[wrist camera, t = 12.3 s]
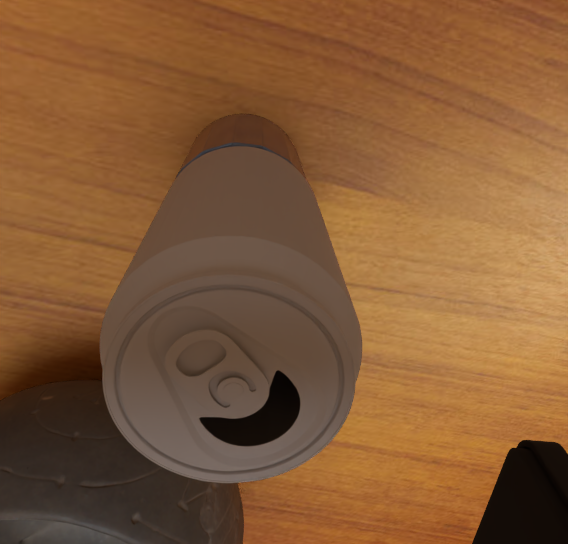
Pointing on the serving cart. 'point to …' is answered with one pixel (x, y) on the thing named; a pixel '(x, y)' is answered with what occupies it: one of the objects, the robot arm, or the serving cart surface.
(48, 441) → the bowl
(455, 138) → the serving cart surface
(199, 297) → the beverage can
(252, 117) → the cup
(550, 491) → the robot arm
